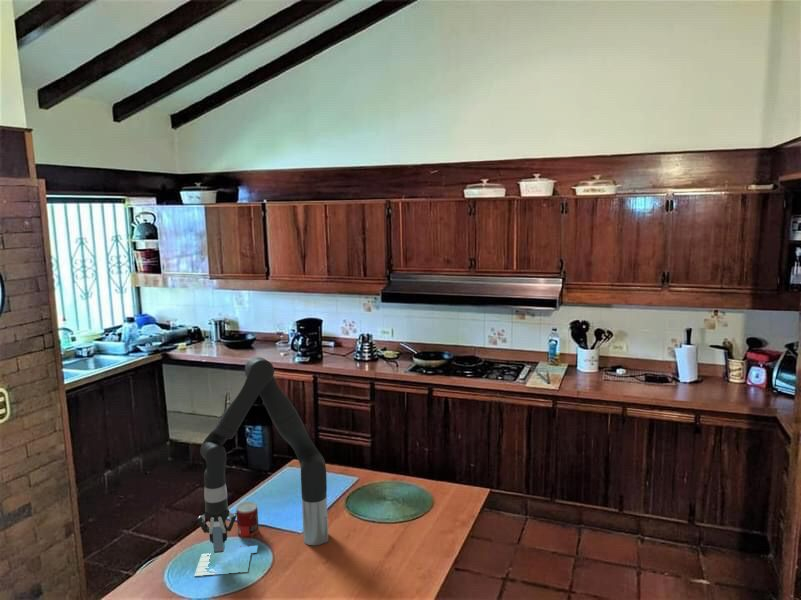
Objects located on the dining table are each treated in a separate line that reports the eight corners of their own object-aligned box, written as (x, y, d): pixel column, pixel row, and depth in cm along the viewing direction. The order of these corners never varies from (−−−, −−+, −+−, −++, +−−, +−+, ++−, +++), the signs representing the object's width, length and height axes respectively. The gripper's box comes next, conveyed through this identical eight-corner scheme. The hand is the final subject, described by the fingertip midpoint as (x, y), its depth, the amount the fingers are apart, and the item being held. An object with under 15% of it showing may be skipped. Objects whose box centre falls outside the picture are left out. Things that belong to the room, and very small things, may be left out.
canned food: (253, 539, 228) (252, 512, 226) (234, 537, 230) (232, 510, 228) (262, 528, 235) (260, 502, 234) (243, 526, 237) (241, 500, 235)
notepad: (252, 550, 221) (252, 549, 221) (248, 572, 208) (247, 571, 208) (201, 554, 219) (201, 553, 218) (194, 577, 206) (194, 575, 206)
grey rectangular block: (224, 547, 215) (222, 516, 213) (223, 552, 212) (221, 521, 210) (215, 548, 215) (213, 516, 213) (213, 553, 212) (211, 521, 210)
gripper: (238, 490, 215) (240, 534, 218) (197, 492, 213) (200, 537, 216) (234, 500, 207) (237, 546, 210) (192, 503, 206) (196, 549, 209)
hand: (218, 541), depth 213 cm, fingers closed on grey rectangular block, 3 cm apart
